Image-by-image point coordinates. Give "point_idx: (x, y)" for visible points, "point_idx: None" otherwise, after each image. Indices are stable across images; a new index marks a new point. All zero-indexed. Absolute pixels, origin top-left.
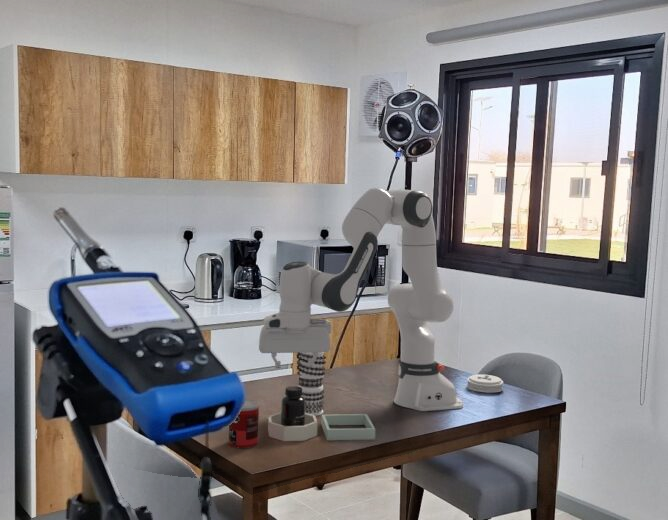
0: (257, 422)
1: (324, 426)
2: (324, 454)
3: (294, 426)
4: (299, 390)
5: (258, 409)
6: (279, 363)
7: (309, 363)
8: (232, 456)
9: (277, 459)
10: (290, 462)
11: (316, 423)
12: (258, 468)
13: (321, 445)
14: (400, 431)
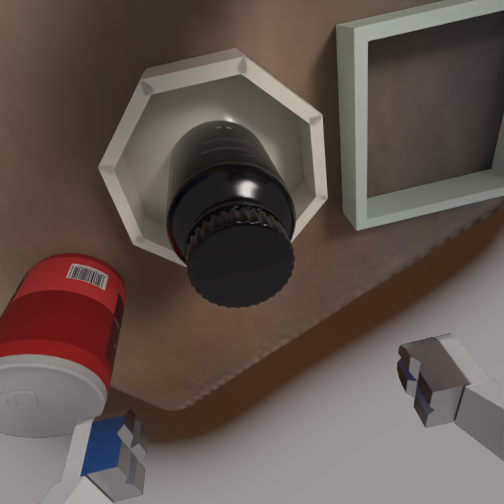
0: (116, 348)
1: (348, 145)
2: (326, 306)
3: None
4: (279, 289)
5: (107, 379)
6: (133, 486)
7: (423, 411)
8: None
9: (211, 353)
10: (245, 359)
11: (322, 200)
12: (180, 395)
13: (321, 253)
14: None
